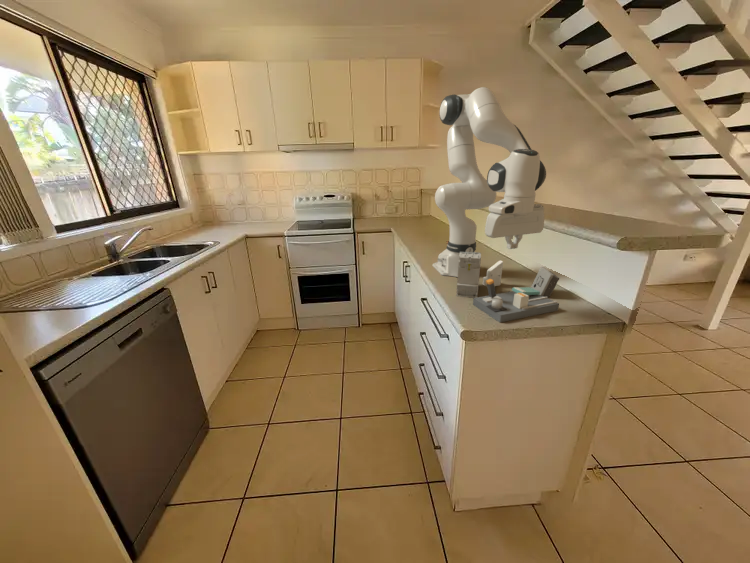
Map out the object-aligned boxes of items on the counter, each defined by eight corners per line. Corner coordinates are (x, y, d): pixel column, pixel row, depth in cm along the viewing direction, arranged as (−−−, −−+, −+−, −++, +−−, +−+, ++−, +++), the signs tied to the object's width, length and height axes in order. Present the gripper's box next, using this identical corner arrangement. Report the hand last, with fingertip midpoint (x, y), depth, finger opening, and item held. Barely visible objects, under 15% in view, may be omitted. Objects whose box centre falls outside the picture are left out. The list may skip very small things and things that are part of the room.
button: (489, 306, 100) (490, 299, 99) (497, 304, 101) (498, 297, 100) (495, 310, 97) (496, 303, 96) (504, 308, 98) (505, 301, 97)
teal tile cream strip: (521, 295, 105) (522, 291, 105) (511, 290, 109) (512, 287, 109) (539, 294, 108) (540, 291, 107) (529, 289, 112) (530, 287, 111)
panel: (472, 304, 108) (473, 296, 107) (526, 295, 114) (527, 286, 113) (499, 322, 95) (500, 313, 94) (557, 310, 102) (559, 301, 101)
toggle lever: (488, 296, 106) (485, 280, 103) (493, 294, 106) (490, 278, 103) (492, 298, 104) (489, 282, 101) (496, 296, 104) (493, 280, 102)
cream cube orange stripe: (512, 305, 101) (514, 293, 99) (520, 303, 102) (522, 291, 100) (519, 308, 98) (521, 296, 97) (527, 307, 99) (529, 295, 98)
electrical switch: (530, 288, 120) (536, 265, 117) (544, 289, 120) (550, 267, 117) (539, 298, 112) (546, 274, 108) (554, 299, 111) (561, 275, 108)
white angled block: (509, 277, 125) (503, 261, 121) (490, 292, 124) (483, 276, 120) (503, 275, 128) (496, 259, 124) (484, 289, 127) (477, 273, 123)
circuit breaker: (476, 284, 126) (480, 248, 121) (477, 297, 113) (481, 258, 108) (457, 282, 128) (460, 247, 123) (456, 296, 115) (458, 257, 110)
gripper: (537, 202, 102) (530, 242, 107) (484, 206, 96) (479, 249, 101) (552, 204, 96) (544, 247, 102) (497, 209, 91) (492, 254, 96)
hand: (512, 248), depth 101 cm, fingers closed
